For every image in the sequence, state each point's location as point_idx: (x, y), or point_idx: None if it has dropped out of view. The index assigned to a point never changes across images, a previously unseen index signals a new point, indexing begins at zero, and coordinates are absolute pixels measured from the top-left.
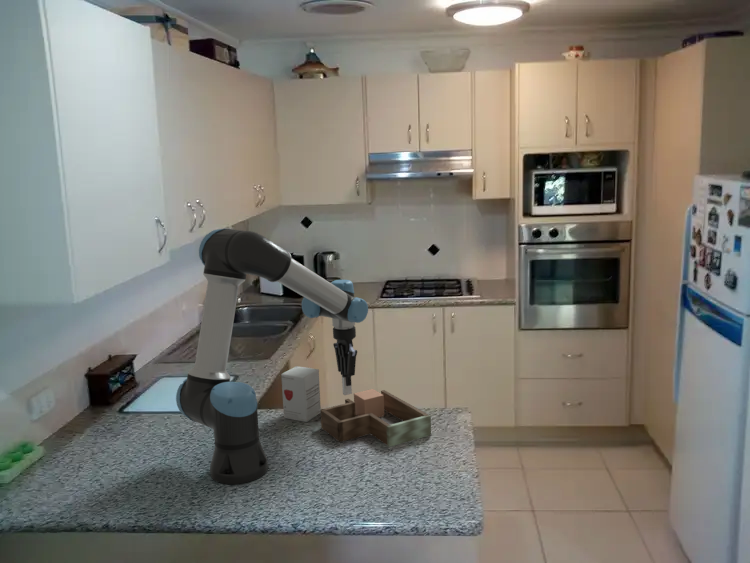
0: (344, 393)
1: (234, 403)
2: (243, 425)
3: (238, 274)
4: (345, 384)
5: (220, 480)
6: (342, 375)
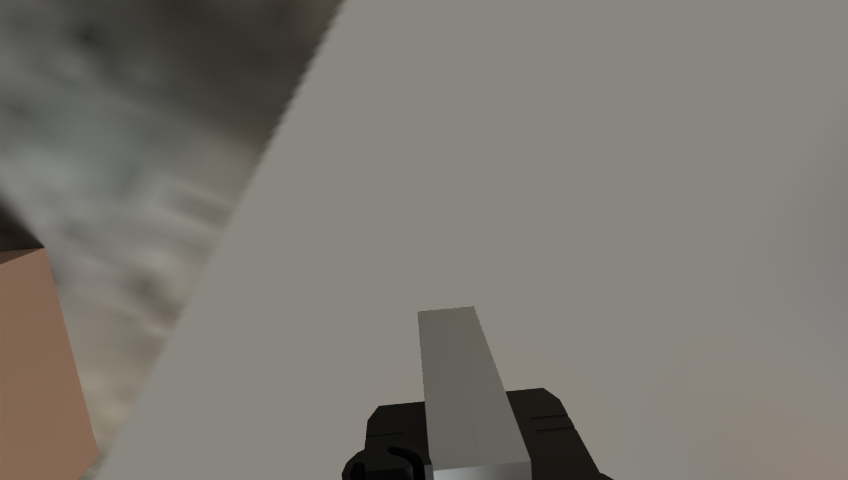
0: (427, 320)
1: None
2: None
3: None
4: (424, 401)
5: None
6: (422, 467)
